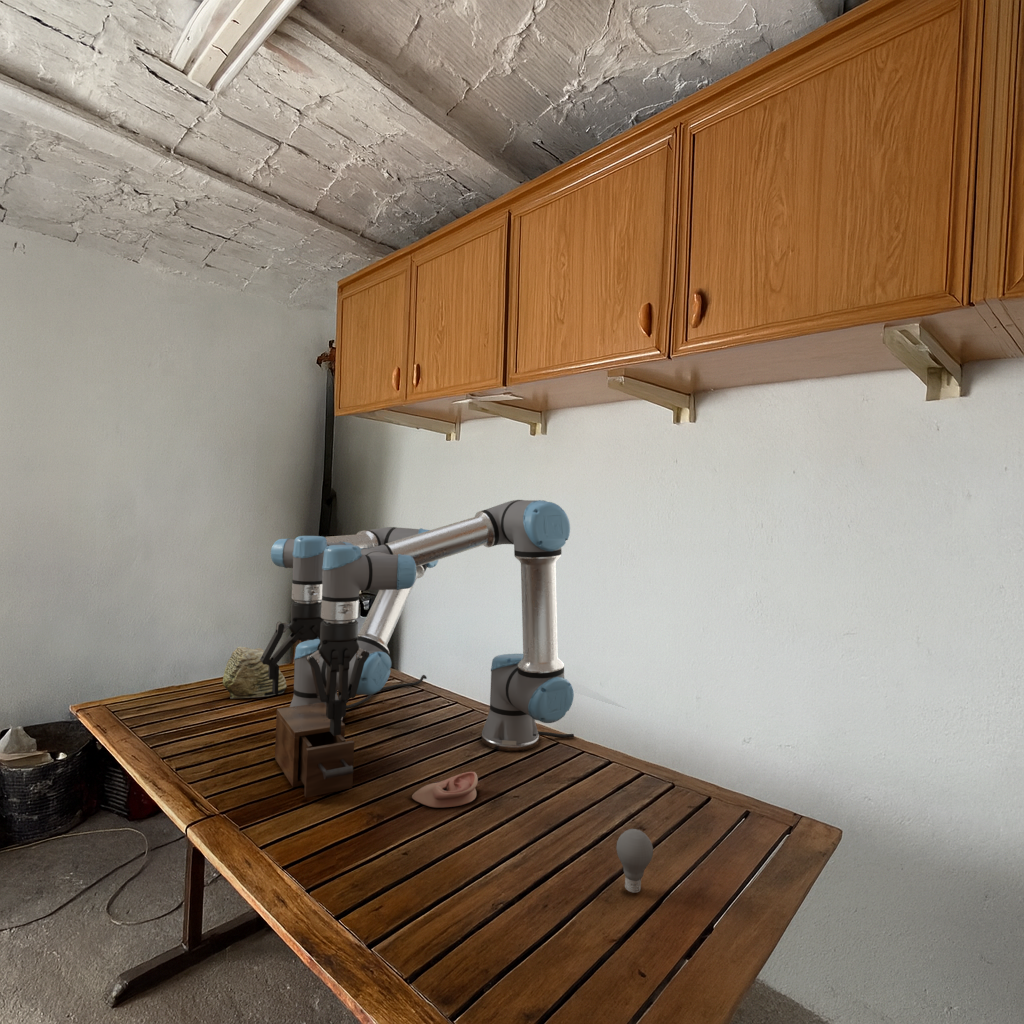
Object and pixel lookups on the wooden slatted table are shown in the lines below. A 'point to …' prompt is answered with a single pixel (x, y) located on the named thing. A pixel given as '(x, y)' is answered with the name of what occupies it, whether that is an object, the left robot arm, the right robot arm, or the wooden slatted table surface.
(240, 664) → the fossil
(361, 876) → the wooden slatted table surface
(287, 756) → the cabinet
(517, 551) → the right robot arm
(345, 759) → the drawer
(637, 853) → the light bulb
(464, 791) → the anatomical model
